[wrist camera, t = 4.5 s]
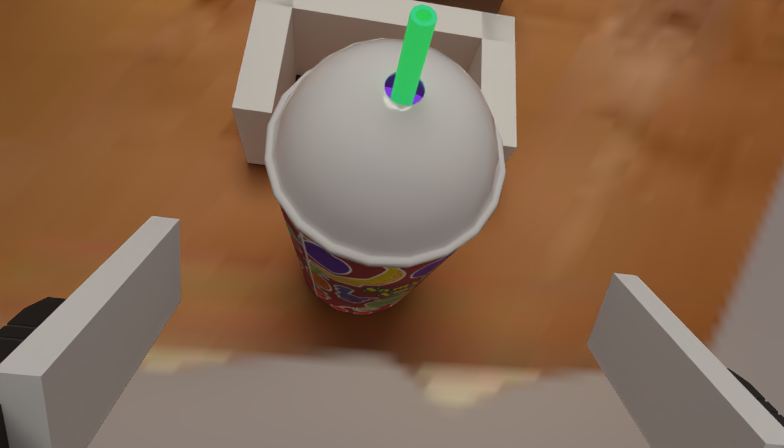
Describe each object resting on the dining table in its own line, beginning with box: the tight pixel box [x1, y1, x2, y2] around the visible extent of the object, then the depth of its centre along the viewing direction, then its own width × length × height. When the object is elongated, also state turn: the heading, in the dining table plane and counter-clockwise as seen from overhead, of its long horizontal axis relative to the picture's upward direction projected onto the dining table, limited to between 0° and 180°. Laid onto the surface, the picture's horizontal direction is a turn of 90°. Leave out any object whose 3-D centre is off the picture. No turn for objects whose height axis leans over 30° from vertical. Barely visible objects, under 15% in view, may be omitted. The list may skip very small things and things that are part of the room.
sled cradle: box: [232, 0, 517, 165], centre depth 31 cm, size 9×15×6 cm, turn 86°
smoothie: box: [264, 4, 506, 315], centre depth 21 cm, size 8×8×20 cm
